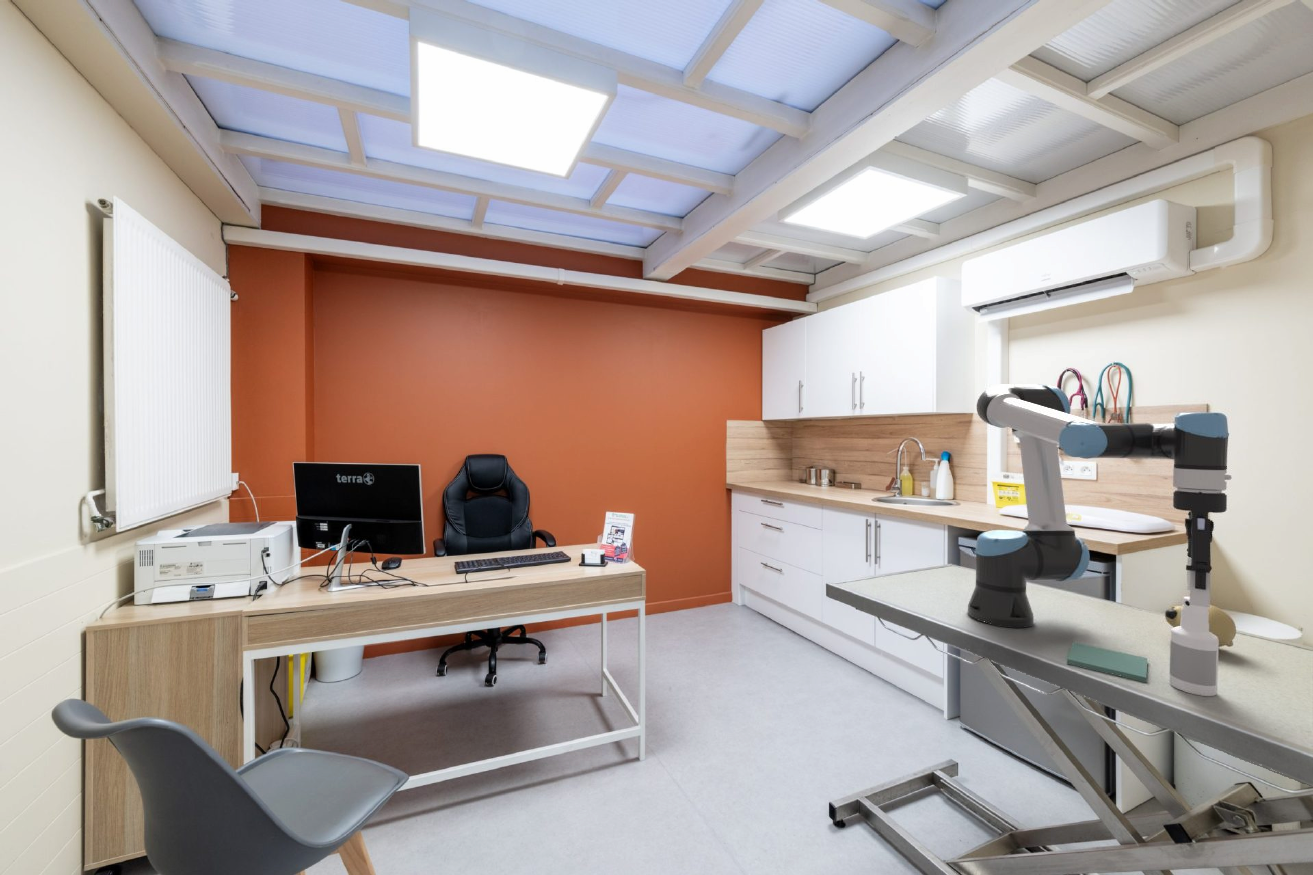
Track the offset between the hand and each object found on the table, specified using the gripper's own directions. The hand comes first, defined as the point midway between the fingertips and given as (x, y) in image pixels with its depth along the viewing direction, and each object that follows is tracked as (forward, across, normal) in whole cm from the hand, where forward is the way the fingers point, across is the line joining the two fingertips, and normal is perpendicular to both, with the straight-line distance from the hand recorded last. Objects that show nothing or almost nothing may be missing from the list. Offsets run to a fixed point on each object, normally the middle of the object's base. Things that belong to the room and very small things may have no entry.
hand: (1197, 598), depth 109 cm
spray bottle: (+18, 0, 0) cm, 19 cm away
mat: (+18, +4, +14) cm, 23 cm away
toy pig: (+18, +31, -2) cm, 36 cm away
